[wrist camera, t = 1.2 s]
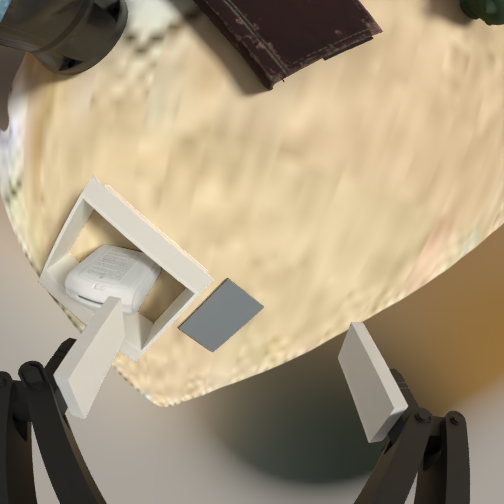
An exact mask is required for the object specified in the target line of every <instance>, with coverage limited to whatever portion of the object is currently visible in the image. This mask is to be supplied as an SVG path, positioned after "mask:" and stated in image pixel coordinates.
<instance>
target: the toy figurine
mask: <svg viewBox="0 0 504 504" xmlns="http://www.w3.org/2000/svg"><path fill="white" fill-rule="evenodd" d="M460 5H461V8H462V9H463V11H464V12H465V13H466V14H467V15H468V16H469V17H470V18H472V19H475V20H476V19H478V18H480V19H482V20H483V21H485V23H486V24H487V25H503V24H504V0H462V1H461V3H460Z"/></svg>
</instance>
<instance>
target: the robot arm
mask: <svg viewBox="0 0 504 504" xmlns="http://www.w3.org/2000/svg"><path fill="white" fill-rule="evenodd" d="M127 16H128V10H127V5H126V2H125V1H124V0H0V45H2V46H6V47H11V48H15V49H19V50H24V51H27V52H31V53H32V54H33V55H34V56H35V57H36V58H37V59H38V60H39V61H40V62H41V64H42V65H43V66H44V67H45V68H47V69H48V70H50V71H52V72H56V73H59V74H64V75H71V74H76V73H79V72H82V71H84V70H87V69H88V68H90V67H92V66H93V65H95V64H96V63H98V62H99V61H100V60H101V59H103V58H104V57H105V56H106V55H107V54H108V53H109V52H110V51H111V49H112V48H113V47H114V46H115V44H116V43H117V41H118V40H119V38H120V37H121V35H122V33H123V31H124V28H125V25H126V22H127ZM124 338H125V329H124V321H123V313H122V303H121V298H118V297H113V296H109V297H108V298H107V299H106V301H105V302H104V303H103V304H102V306H101V307H100V308H99V310H98V311H97V312H96V314H95V315H94V317H93V318H92V319H91V321H90V322H89V323H88V325H87V326H86V328H85V329H84V330H83V332H82V333H81V335H80V336H79V337H78V339H77V340H76V339H72V338H69V339H67V340H66V341H64V342H63V343H62V344H61V345H60V346H59V348H58V350H57V351H56V352H55V354H54V356H52V358H51V359H50V360H49V362H48V363H47V365H46V366H45V368H43V365H42V364H41V363H39V362H37V361H28V362H26V363H24V364H23V365H21V367H20V368H19V371H18V375H19V377H20V379H21V381H17V380H12V378H11V376H10V374H9V373H7V372H3V371H1V372H0V504H37V500H36V492H35V484H34V474H33V462H32V439H31V422H32V424H33V428H34V432H35V435H36V439H37V443H38V446H39V449H40V453H41V455H42V459H43V461H44V464H45V467H46V470H47V473H48V475H49V478H50V481H51V483H52V486H53V488H54V491H55V493H56V495H57V497H58V500H59V502H60V504H106V501H105V500H104V498H103V496H102V495H101V493H100V491H99V489H98V487H97V485H96V484H95V481H94V480H93V478H92V476H91V474H90V472H89V470H88V467H87V466H86V463H85V461H84V459H83V457H82V455H81V452H80V450H79V448H78V446H77V443H76V441H75V438H74V436H73V433H72V430H71V428H70V425H69V423H68V420H67V418H66V415H65V412H66V410H67V408H68V409H69V411H70V413H71V415H74V416H76V417H79V418H82V419H85V418H86V416H87V414H88V412H89V410H90V407H91V405H92V403H93V401H94V399H95V397H96V394H97V392H98V390H99V388H100V386H101V384H102V382H103V380H104V378H105V376H106V374H107V372H108V370H109V368H110V366H111V364H112V362H113V360H114V358H115V356H116V354H117V352H118V350H119V348H120V346H121V344H122V342H123V340H124ZM338 359H339V362H340V364H341V367H342V370H343V372H344V375H345V378H346V380H347V383H348V386H349V388H350V391H351V394H352V396H353V399H354V402H355V405H356V407H357V410H358V413H359V416H360V419H361V421H362V424H363V427H364V430H365V433H366V436H367V439H368V442H369V443H371V442H377V441H382V440H383V439H384V438H385V437H386V435H387V434H388V436H389V438H390V440H389V441H388V442H387V444H386V445H385V446H384V447H383V448H382V450H381V451H383V453H382V455H381V457H380V458H379V460H378V463H377V464H376V466H375V468H374V470H373V472H372V474H371V476H370V477H369V479H368V481H367V483H366V484H365V486H364V488H363V489H362V491H361V493H360V494H359V496H358V498H357V499H356V501H355V503H354V504H404V503H405V501H406V498H407V496H408V494H409V491H410V489H411V486H412V484H413V482H414V479H415V477H416V474H417V471H418V476H417V486H416V493H415V499H414V504H470V468H469V466H470V465H469V448H468V437H467V427H466V421H465V418H464V416H463V415H462V414H460V413H459V412H457V411H450V412H448V413H447V415H446V416H445V417H435V416H432V414H431V413H430V412H429V411H428V410H426V409H424V408H419V406H418V404H417V402H416V401H415V399H414V397H413V395H412V393H411V392H410V390H409V389H408V386H407V384H406V383H405V381H404V379H403V377H402V375H401V374H400V373H399V372H398V371H397V370H396V369H389V368H388V367H387V365H386V363H385V361H384V359H383V358H382V356H381V354H380V352H379V350H378V349H377V347H376V345H375V343H374V341H373V340H372V338H371V336H370V334H369V333H368V331H367V329H366V327H365V326H364V324H363V323H361V322H351V324H350V327H349V330H348V333H347V335H346V338H345V341H344V343H343V346H342V349H341V351H340V354H339V356H338Z"/></svg>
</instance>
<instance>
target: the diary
mask: <svg viewBox="0 0 504 504" xmlns="http://www.w3.org/2000/svg"><path fill="white" fill-rule="evenodd" d="M194 2H195V3H196V4H197V5H198V6H199V7H200V8H201V9H202V10H203V12H204V13H205V14H206V15H207V16H208V17H209V19H210V20H211V21H212V22H213V23H214V24H215V25H216V27H217V28H218V29H219V30H220V31H221V32H222V33H223V34H224V35H225V36H226V38H227V39H228V40H229V41H230V42H231V43H232V44H233V46H234V47H235V48H236V49H237V50H238V51H239V53H240V54H241V55H242V57H243V58H244V59H245V61H246V62H247V63H248V65H249V66H250V67H251V69H252V70H253V71H254V73H255V74H256V76H257V77H258V78H259V80H260V81H261V83H262V84H263V85H264V86H265V87H267V88H268V89H269V90H272V89H273V85H274V84H275V83H277V82H279V81H280V80H283V79H284V78H286V77H288V76H290V75H291V74H293V73H295V72H297V71H299V70H300V69H302V68H304V67H306V66H308V65H310V64H312V63H314V62H316V61H318V60H320V59H322V58H323V59H324V60H327V59H329V58H331V57H333V56H335V55H338V54H340V53H342V52H344V51H346V50H349V49H351V48H354V47H356V46H358V45H361V44H363V43H365V42H367V41H370V40H372V39H373V37H372V36H373V35H376V34H378V33H381V32H383V31H382V30H381V28H380V27H379V26H378V24H377V23H376V22H375V20H374V19H373V18H372V16H371V15H370V14H369V12H368V11H367V10H366V9H365V7H364V6H363V5H362V4H361V3H360V1H359V0H194ZM283 82H284V80H283Z"/></svg>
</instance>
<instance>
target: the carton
mask: <svg viewBox="0 0 504 504" xmlns="http://www.w3.org/2000/svg"><path fill="white" fill-rule="evenodd" d="M94 209H95V210H96V211H97V212H98V213H99V214H101V215H102V216H103V217H104V218H105V219H106V220H107V221H108V222H109V223H111V224H112V225H113V226H114V227H115V228H116V229H117V230H118V231H120V232H121V233H122V234H123V235H124V236H125V237H126V238H128V239H129V240H130V241H131V242H132V243H133V244H135V245H136V246H137V247H138V248H139V249H140V250H142V251H143V252H144V253H145V254H146V255H148V256H149V257H150V258H151V259H152V260H154V261H155V262H156V263H157V264H158V265H160V266H161V267H162V268H163V269H164V270H166V271H167V272H168V273H169V274H171V275H172V276H173V277H174V278H176V279H177V280H178V281H179V282H181V283H182V284H183V285H184V286H186V288H185V289H184V290H183V292H182V293H181V294H180V295H179V296H178V297H177V298H176V299H175V300H174V301H173V302H172V304H171V305H170V306H169V307H168V308H167V309H166V310H165V311H164V312H163V313H162V315H161V316H160V317H159V318H158V319H157V320H156V321H155V322H154V323H153V322H151V321H150V320H149V319H147V318H146V317H145V316H143V315H142V314H141V313H139V312H138V311H137V312H136V314H135V315H132V316H123V321H124V329H125V338H124V340H123V342H122V344H121V346H120V348H119V351H120V352H121V353H123V354H124V355H126V356H127V357H128V358H130V359H131V360H133V361H134V362H136V360H137V359H138V358H139V357H140V356H141V355H142V354H143V353H144V352H145V351H146V350H147V349H148V348H149V347H150V346H151V345H152V344H153V343H154V342H155V341H156V340H157V338H158V337H159V336H160V335H161V334H162V333H163V332H164V331H165V330H166V329H167V328H168V327H169V326H170V325H171V324H172V323H173V322H174V321H175V320H176V319H177V318H178V317H179V316H180V315H181V313H182V312H183V311H184V310H185V309H186V308H187V307H188V306H189V305H190V304H191V303H192V302H193V301H194V300H195V299H196V298H197V297H198V296H199V295H200V294H201V293H202V292H203V291H204V290H205V289H206V288H207V287H208V286H209V284H210V283H211V282H212V281H213V280H214V279H213V278H212V277H211V276H210V275H208V274H207V269H206V268H205V267H204V266H202V265H201V264H200V263H199V262H197V261H196V260H195V259H194V258H193V257H191V256H190V255H189V254H188V253H187V252H185V251H184V250H183V249H182V248H181V247H179V246H178V245H177V244H176V243H175V242H173V241H172V240H171V239H170V238H169V237H167V236H166V235H165V234H164V233H163V232H162V231H160V230H159V229H158V228H157V227H156V226H155V225H153V224H152V223H151V222H150V221H149V220H148V219H146V218H145V217H144V216H143V215H142V214H141V213H139V212H138V211H137V210H136V209H135V208H134V207H133V206H131V205H130V204H129V203H128V202H127V201H126V200H125V199H124V198H122V197H121V196H120V195H119V194H118V193H117V192H116V191H115V190H113V189H112V188H111V187H110V186H109V185H108V184H104V185H103V184H102V183H101V182H100V181H99V180H98V179H97V178H95V177H94V176H92V177H91V179H90V180H89V182H88V184H87V185H86V187H85V189H84V190H83V192H82V194H81V195H80V197H79V199H78V201H77V202H76V204H75V206H74V208H73V209H72V211H71V213H70V215H69V217H68V219H67V221H66V222H65V224H64V226H63V228H62V230H61V232H60V234H59V236H58V238H57V240H56V242H55V244H54V246H53V249H52V251H51V253H50V255H49V257H48V259H47V262H46V264H45V266H44V269H43V271H42V273H41V276H40V278H39V281H38V282H39V283H40V284H41V285H42V286H43V287H44V288H45V289H46V290H47V291H48V292H49V293H50V294H51V295H52V296H53V297H54V298H56V299H57V300H58V301H59V302H60V303H61V304H62V305H63V306H64V307H65V308H67V309H68V310H69V311H70V312H71V313H72V314H73V315H75V316H76V317H77V318H78V319H79V320H80V321H82V322H83V323H84V324H85V325H86V326H87V325H88V323H89V322H90V321H91V319H92V318H93V317H94V315H95V314H96V312H97V311H96V310H93V309H90V308H88V307H85V306H83V305H81V304H79V303H77V302H75V301H74V300H72V299H71V298H70V297H69V296H68V295H67V294H66V287H65V281H66V278H67V276H68V274H69V272H70V271H71V270H72V269H73V268H74V267H75V266H77V265H78V264H79V263H80V262H79V261H78V260H77V259H76V258H75V257H73V256H72V255H71V254H70V251H71V249H72V247H73V245H74V243H75V241H76V240H77V238H78V236H79V234H80V232H81V231H82V229H83V227H84V226H85V224H86V222H87V220H88V219H89V217H90V215H91V214H92V212H93V210H94Z"/></svg>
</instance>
